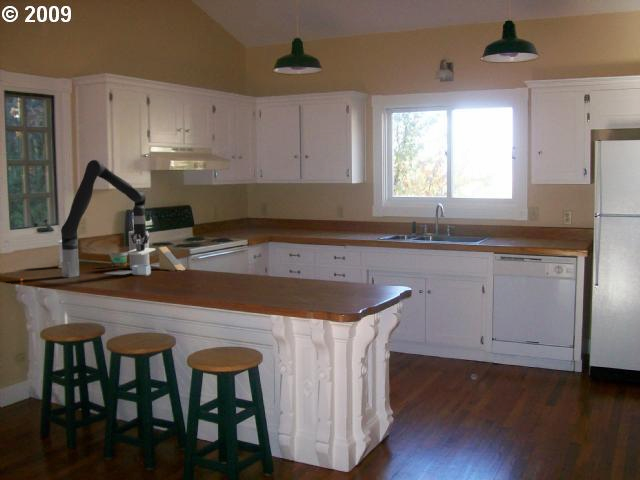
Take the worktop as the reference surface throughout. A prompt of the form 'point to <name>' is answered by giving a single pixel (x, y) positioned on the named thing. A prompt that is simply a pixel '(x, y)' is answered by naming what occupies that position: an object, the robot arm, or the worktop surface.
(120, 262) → the food container
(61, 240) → the decorative container
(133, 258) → the cylinder vase
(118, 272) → the mat
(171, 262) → the sandwich container
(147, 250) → the lid
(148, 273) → the pale blue block
